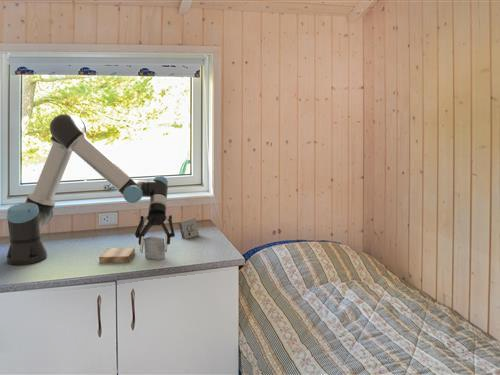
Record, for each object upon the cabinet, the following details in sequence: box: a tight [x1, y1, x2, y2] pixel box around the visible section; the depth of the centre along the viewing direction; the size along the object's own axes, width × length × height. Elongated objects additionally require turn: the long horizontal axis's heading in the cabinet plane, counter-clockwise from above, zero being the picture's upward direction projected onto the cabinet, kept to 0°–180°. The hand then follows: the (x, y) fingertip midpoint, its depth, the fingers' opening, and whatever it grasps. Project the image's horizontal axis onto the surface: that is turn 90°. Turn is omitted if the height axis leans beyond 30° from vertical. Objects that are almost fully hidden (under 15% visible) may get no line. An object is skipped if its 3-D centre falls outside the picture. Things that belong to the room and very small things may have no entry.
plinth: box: [98, 247, 136, 264], centre depth 178 cm, size 12×12×2 cm
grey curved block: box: [144, 235, 166, 261], centre depth 178 cm, size 8×4×9 cm, turn 58°
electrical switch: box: [178, 217, 200, 240], centre depth 211 cm, size 9×5×9 cm, turn 141°
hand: (153, 251), depth 175 cm, fingers open, 9 cm apart
